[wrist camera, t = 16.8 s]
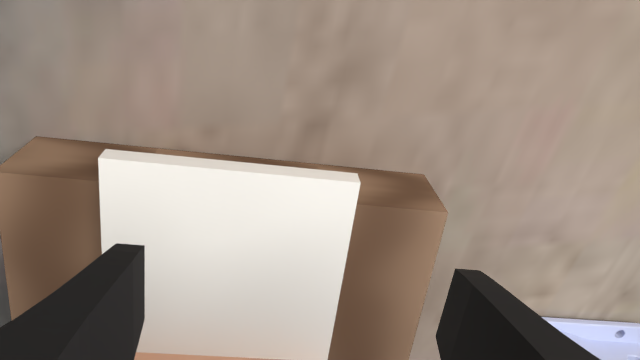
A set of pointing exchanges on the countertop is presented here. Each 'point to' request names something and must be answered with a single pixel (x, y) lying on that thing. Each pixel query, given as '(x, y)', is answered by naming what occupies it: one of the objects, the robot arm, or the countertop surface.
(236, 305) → the panel
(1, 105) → the countertop surface
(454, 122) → the countertop surface
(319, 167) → the socket block
